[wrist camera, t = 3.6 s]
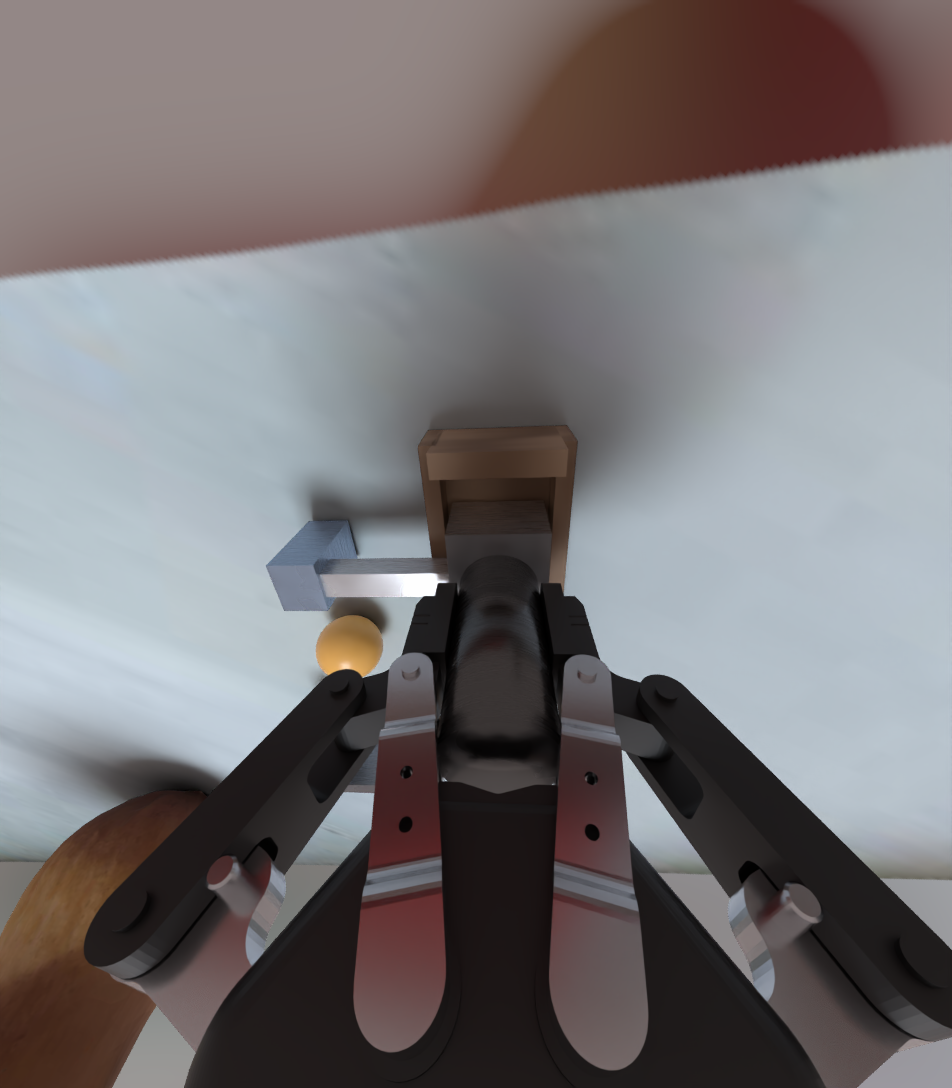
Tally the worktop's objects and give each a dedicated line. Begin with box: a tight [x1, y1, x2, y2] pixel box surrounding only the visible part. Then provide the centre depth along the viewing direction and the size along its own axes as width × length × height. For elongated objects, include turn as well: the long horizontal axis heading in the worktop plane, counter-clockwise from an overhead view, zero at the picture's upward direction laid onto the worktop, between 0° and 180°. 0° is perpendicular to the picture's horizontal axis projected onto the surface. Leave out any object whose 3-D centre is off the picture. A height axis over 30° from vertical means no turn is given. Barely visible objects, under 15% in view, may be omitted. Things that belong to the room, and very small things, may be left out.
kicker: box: [266, 500, 560, 794], centre depth 14 cm, size 12×5×11 cm, turn 93°
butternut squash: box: [0, 790, 207, 1088], centre depth 25 cm, size 14×13×25 cm
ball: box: [316, 615, 383, 677], centre depth 21 cm, size 4×4×4 cm
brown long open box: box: [418, 425, 578, 592], centre depth 20 cm, size 6×20×4 cm, turn 3°
